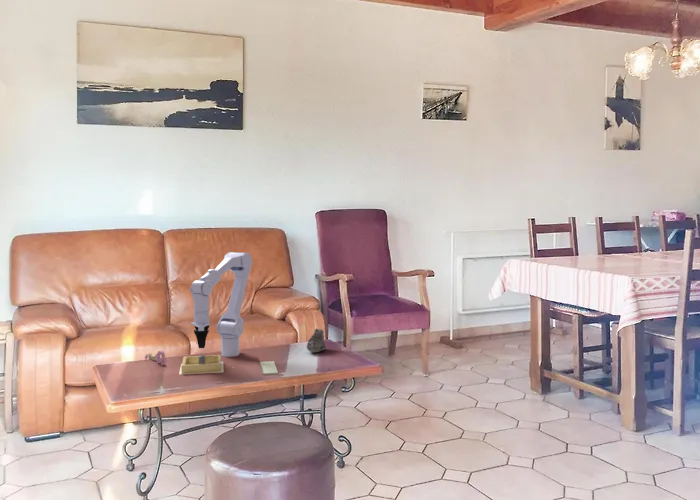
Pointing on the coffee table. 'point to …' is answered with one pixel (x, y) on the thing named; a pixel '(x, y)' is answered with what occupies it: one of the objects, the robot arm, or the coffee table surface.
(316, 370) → the coffee table surface
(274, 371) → the mat
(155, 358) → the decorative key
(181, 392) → the coffee table surface
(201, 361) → the post stand
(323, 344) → the mineral rock
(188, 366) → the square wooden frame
